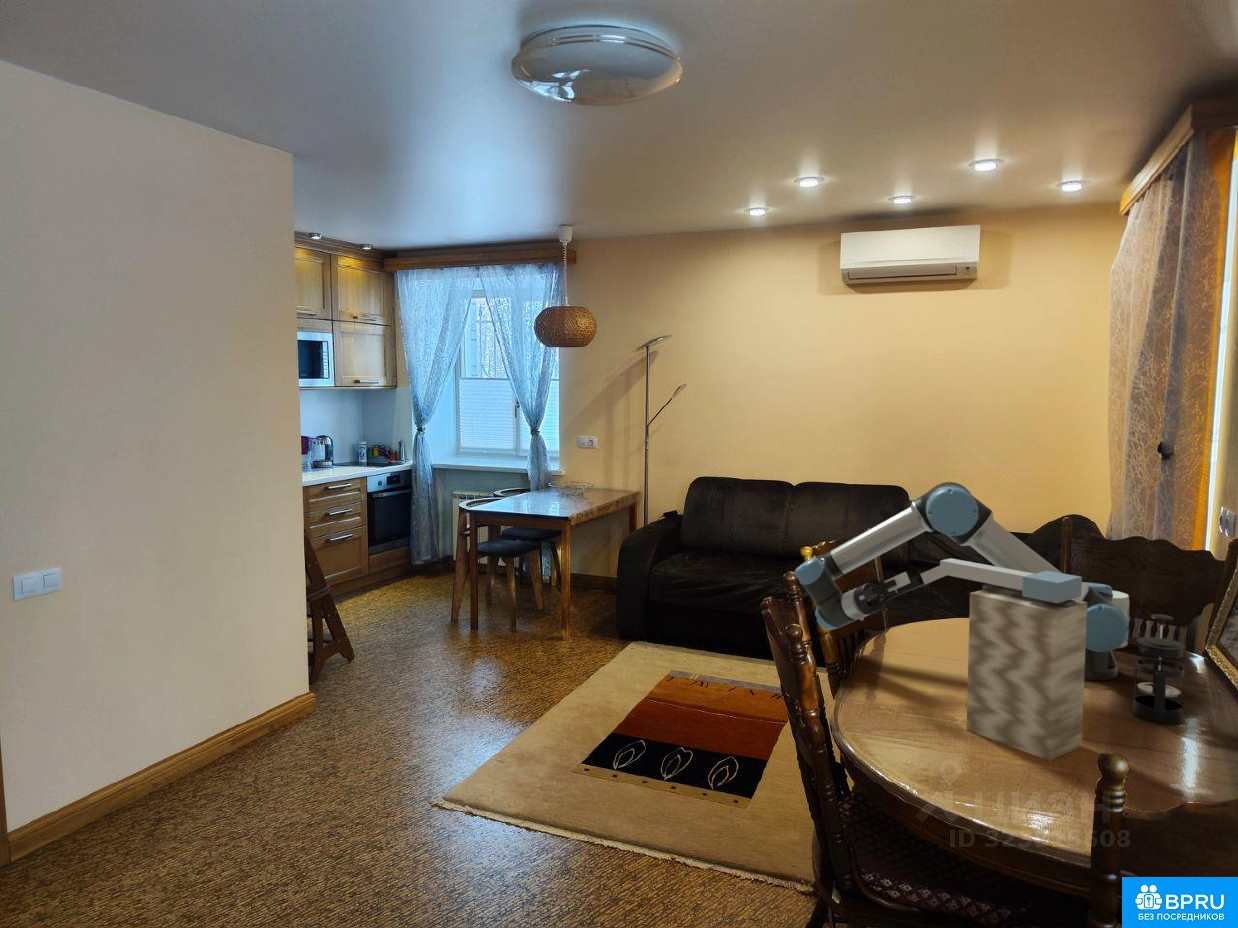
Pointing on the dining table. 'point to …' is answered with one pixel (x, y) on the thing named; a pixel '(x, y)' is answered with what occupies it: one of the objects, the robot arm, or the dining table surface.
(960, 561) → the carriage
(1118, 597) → the supplement tub
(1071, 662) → the patterned tall box
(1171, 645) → the french press
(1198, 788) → the dining table surface
